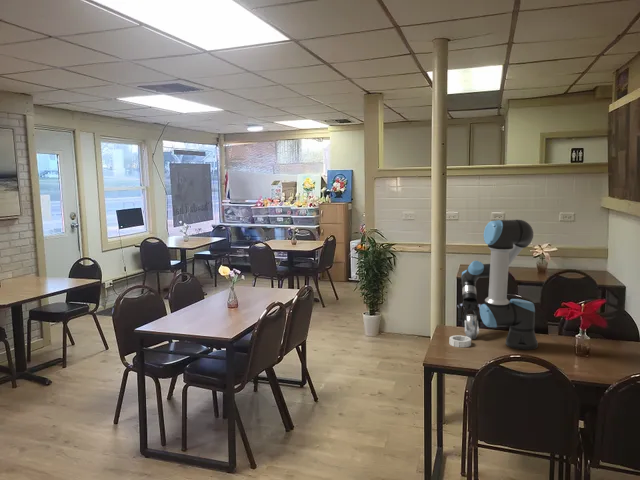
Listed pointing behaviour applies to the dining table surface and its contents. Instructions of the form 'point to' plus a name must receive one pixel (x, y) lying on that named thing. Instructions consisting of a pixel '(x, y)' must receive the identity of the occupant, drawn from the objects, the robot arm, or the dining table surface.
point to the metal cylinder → (471, 326)
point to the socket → (460, 341)
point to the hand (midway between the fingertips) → (471, 332)
